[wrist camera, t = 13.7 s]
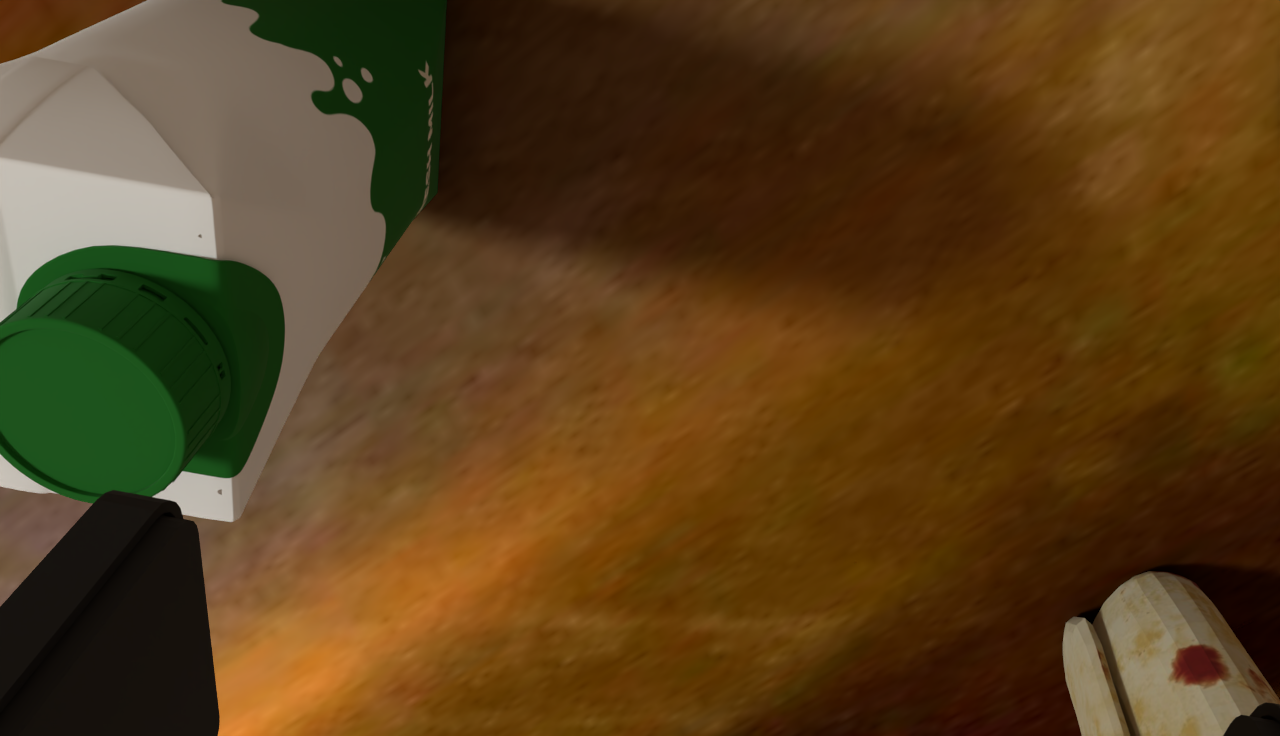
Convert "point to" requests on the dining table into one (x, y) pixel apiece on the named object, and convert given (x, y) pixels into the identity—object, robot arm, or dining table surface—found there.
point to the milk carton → (198, 230)
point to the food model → (1159, 663)
